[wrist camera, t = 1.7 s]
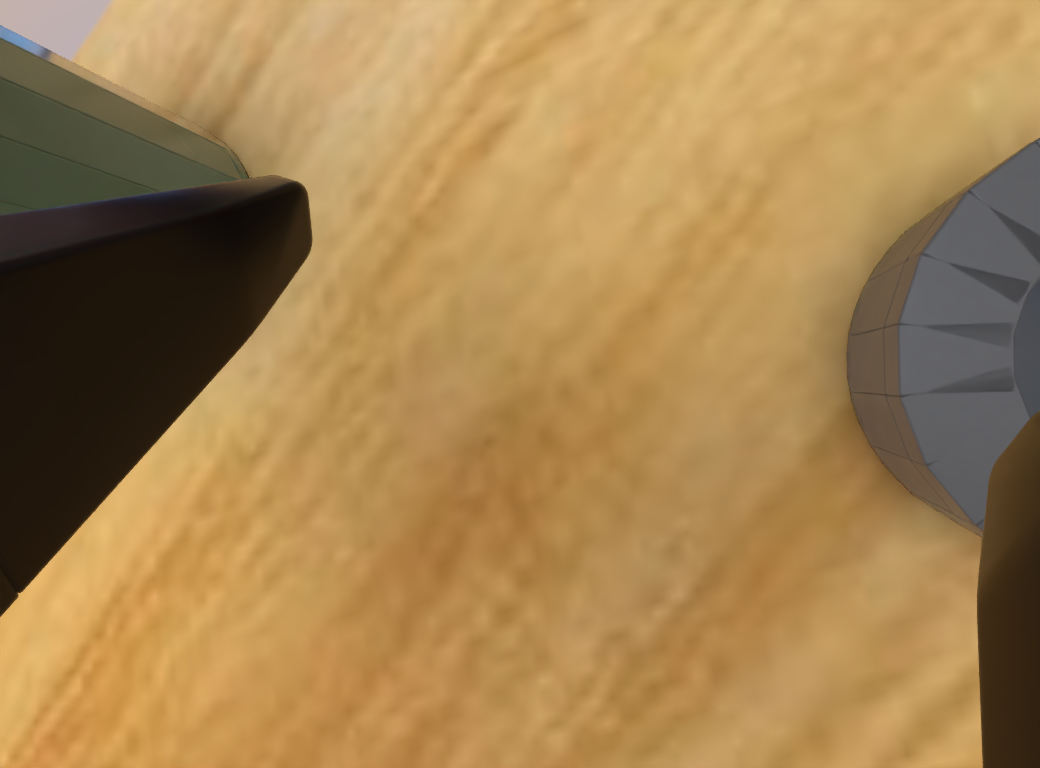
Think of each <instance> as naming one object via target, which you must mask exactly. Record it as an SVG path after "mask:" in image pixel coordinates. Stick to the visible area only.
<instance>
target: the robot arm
mask: <svg viewBox="0 0 1040 768" xmlns="http://www.w3.org/2000/svg"><path fill="white" fill-rule="evenodd" d="M311 247H312V229H311V220H310V210H309V200H308V193H307V191H306V188H305V187H304V186H303V185H302V184H301V183H299V182H297V181H294V180H290V179H287V178H284V177H281V176H276V175H271V176H264V177H257V178H250V179H244V180H237V181H230V182H223V183H216V184H210V185H203V186H196V187H189V188H182V189H175V190H169V191H162V192H155V193H148V194H141V195H135V196H128V197H121V198H114V199H107V200H101V201H94V202H87V203H80V204H73V205H67V206H60V207H53V208H46V209H39V210H32V211H26V212H19V213H12V214H5V215H0V617H1V616H2V615H3V613H4V612H5V611H6V610H7V609H8V608H9V607H10V606H11V604H12V603H13V602H14V601H15V600H16V599H17V598H18V593H21V592H22V591H23V590H24V589H25V588H26V587H27V586H28V585H29V584H30V583H31V581H32V580H33V579H34V578H35V577H36V576H37V575H38V574H39V572H40V571H41V570H42V569H43V568H44V567H45V566H46V565H47V564H48V562H49V561H50V560H51V559H52V558H53V557H54V556H55V555H56V554H57V552H58V551H59V550H60V549H61V548H62V547H63V546H64V545H65V543H66V542H67V541H68V540H69V539H70V538H71V537H72V536H73V535H74V533H75V532H76V531H77V530H78V529H79V528H80V527H81V526H82V524H83V523H84V522H85V521H86V520H87V519H88V518H89V517H90V516H91V514H92V513H93V512H94V511H95V510H96V509H97V508H98V507H99V505H100V504H101V503H102V502H103V501H104V500H105V499H106V498H107V497H108V495H109V494H110V493H111V492H112V491H113V490H114V489H115V488H116V487H117V485H118V484H119V483H120V482H121V481H122V480H123V479H124V478H125V476H126V475H127V474H128V473H129V472H130V471H131V470H132V469H133V468H134V466H135V465H136V464H137V463H138V462H139V461H140V460H141V459H142V457H143V456H144V455H145V454H146V453H147V452H148V451H149V450H150V449H151V447H152V446H153V445H154V444H155V443H156V442H157V441H158V440H159V438H160V437H161V436H162V435H163V434H164V433H165V432H166V431H167V430H168V428H169V427H170V426H171V425H172V424H173V423H174V422H175V421H176V419H177V418H178V417H179V416H180V415H181V414H182V413H183V412H184V411H185V409H186V408H187V407H188V406H189V405H190V404H191V403H192V402H193V401H194V399H195V398H196V397H197V396H198V395H199V394H200V393H201V392H202V390H203V389H204V388H205V387H206V386H207V385H208V384H209V383H210V382H211V380H212V379H213V378H214V377H215V376H216V375H217V374H218V373H219V371H220V370H221V369H222V368H223V367H224V366H225V365H226V364H227V363H228V361H229V360H230V359H231V358H232V357H233V356H234V355H235V354H236V352H237V351H238V350H239V349H240V348H241V347H242V346H243V345H244V343H245V342H246V341H247V340H248V339H249V337H250V336H251V335H252V334H253V332H254V331H255V330H256V328H257V327H258V326H259V324H260V323H261V322H262V320H263V319H264V318H265V316H266V315H267V313H268V312H269V311H270V309H271V308H272V306H273V305H274V304H275V302H276V301H277V299H278V298H279V297H280V295H281V294H282V292H283V291H284V289H285V288H286V287H287V285H288V284H289V282H290V281H291V280H292V278H293V277H294V275H295V274H296V273H297V271H298V270H299V268H300V267H301V266H302V264H303V263H304V261H305V260H306V259H307V257H308V255H309V253H310V250H311ZM977 624H978V651H979V678H980V704H981V731H982V758H983V768H1040V411H1038V412H1037V413H1036V414H1034V415H1033V416H1032V417H1031V418H1030V419H1029V420H1028V421H1027V423H1026V424H1025V425H1024V426H1023V428H1022V429H1021V430H1020V431H1019V433H1018V434H1017V435H1016V436H1015V438H1014V439H1013V440H1012V441H1011V443H1010V444H1009V445H1008V446H1007V448H1006V449H1005V450H1004V451H1003V453H1002V454H1001V455H1000V456H999V458H998V459H997V460H996V462H995V464H994V466H993V468H992V470H991V473H990V477H989V482H988V492H987V501H986V511H985V520H984V530H983V539H982V549H981V558H980V568H979V577H978V591H977Z"/></svg>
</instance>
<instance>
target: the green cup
mask: <svg viewBox="0 0 1040 768" xmlns="http://www.w3.org/2000/svg"><path fill="white" fill-rule="evenodd" d="M244 179H248V176H247V174H246V171H245V170H244V168H243V166H242V164H241V163H240V161H239V160H238V158H237V157H236V156H235V154H234V153H233V152H232V151H231V150H230V149H229V148H228V147H227V146H226V145H225V144H224V143H223V142H222V141H220V140H219V139H218V138H216V137H215V136H213V135H211V134H209V133H207V132H206V131H205V130H203V129H202V128H201V127H199V126H197V125H195V124H193V123H191V122H189V121H187V120H186V119H184V118H182V117H180V116H178V115H176V114H174V113H172V112H170V111H168V110H166V109H164V108H162V107H160V106H158V105H156V104H154V103H152V102H150V101H148V100H146V99H144V98H142V97H140V96H138V95H136V94H134V93H132V92H131V91H129V90H127V89H125V88H123V87H121V86H119V85H117V84H115V83H113V82H111V81H109V80H107V79H105V78H103V77H101V76H99V75H97V74H95V73H93V72H91V71H89V70H87V69H85V68H83V67H81V66H79V65H77V64H76V63H74V62H72V61H70V60H68V59H66V58H64V57H62V56H60V55H58V54H56V53H54V52H52V51H50V50H48V49H46V48H44V47H42V46H40V45H38V44H36V43H34V42H32V41H30V40H28V39H26V38H24V37H22V36H21V35H18V34H17V33H15V32H13V31H11V30H9V29H7V28H5V27H3V26H1V25H0V215H5V214H12V213H19V212H26V211H32V210H39V209H46V208H53V207H60V206H67V205H73V204H80V203H87V202H94V201H101V200H107V199H114V198H121V197H128V196H135V195H141V194H148V193H155V192H162V191H169V190H175V189H182V188H189V187H196V186H203V185H210V184H216V183H223V182H230V181H237V180H244Z"/></svg>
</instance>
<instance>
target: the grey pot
mask: <svg viewBox="0 0 1040 768" xmlns="http://www.w3.org/2000/svg"><path fill="white" fill-rule="evenodd" d="M847 377H848V383H849V389H850V394H851V400H852V403H853V406H854V409H855V412H856V415H857V418H858V421H859V424H860V426H861V428H862V430H863V432H864V434H865V436H866V438H867V440H868V442H869V444H870V445H871V447H872V448H873V450H874V451H875V453H876V454H877V455H878V457H879V458H880V460H881V461H882V463H883V464H884V465H885V466H886V467H887V468H888V470H889V471H890V472H891V473H892V474H893V475H894V476H895V478H896V479H897V480H898V481H899V482H900V483H902V484H903V485H904V486H905V487H906V489H907V490H909V491H910V493H912V494H913V495H915V496H916V497H918V498H919V499H921V500H922V501H924V502H925V503H927V504H928V505H930V506H931V507H933V508H934V509H936V510H937V511H939V512H941V513H942V514H944V515H945V516H947V517H948V518H950V519H951V520H953V521H954V522H956V523H957V524H959V525H961V526H962V527H964V528H966V529H968V530H970V531H972V532H973V533H975V534H977V535H979V536H981V537H982V538H983V530H984V520H985V511H986V501H987V492H988V482H989V477H990V473H991V470H992V468H993V466H994V464H995V462H996V460H997V459H998V458H999V456H1000V455H1001V454H1002V453H1003V451H1004V450H1005V449H1006V448H1007V446H1008V445H1009V444H1010V443H1011V441H1012V440H1013V439H1014V438H1015V436H1016V435H1017V434H1018V433H1019V431H1020V430H1021V429H1022V428H1023V426H1024V425H1025V424H1026V423H1027V421H1028V420H1029V419H1030V418H1031V417H1032V416H1033V415H1034V414H1036V413H1037V412H1038V411H1040V138H1038V139H1037V140H1035V141H1034V142H1032V143H1029V144H1028V145H1027V146H1025V147H1024V148H1022V149H1021V150H1019V151H1018V152H1016V153H1015V154H1014V155H1012V156H1011V157H1009V158H1008V159H1006V160H1005V161H1003V162H1002V163H1000V164H999V165H998V166H996V167H995V168H993V169H992V170H990V171H989V172H987V173H986V174H984V175H983V176H982V177H980V178H979V179H977V180H976V181H974V182H973V183H971V184H970V185H969V186H967V187H966V188H964V189H963V190H961V191H960V192H958V193H957V194H955V195H954V196H953V197H951V198H950V199H948V200H947V201H946V202H944V203H943V204H942V205H940V206H939V207H938V208H936V209H935V210H934V211H932V212H931V213H929V214H928V215H926V216H925V217H924V218H923V219H921V220H920V221H919V222H917V223H916V224H915V225H913V226H912V227H911V228H909V229H908V230H907V231H905V232H904V234H903V235H901V236H900V238H899V239H898V240H897V242H896V243H895V244H894V245H893V246H892V247H891V248H890V249H889V250H888V251H887V253H886V254H885V255H884V257H883V258H882V259H881V261H880V262H879V263H878V265H877V266H876V267H875V269H874V270H873V272H872V274H871V276H870V278H869V279H868V281H867V283H866V285H865V286H864V288H863V290H862V293H861V295H860V298H859V300H858V303H857V305H856V308H855V310H854V314H853V319H852V323H851V327H850V331H849V337H848V347H847Z"/></svg>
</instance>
